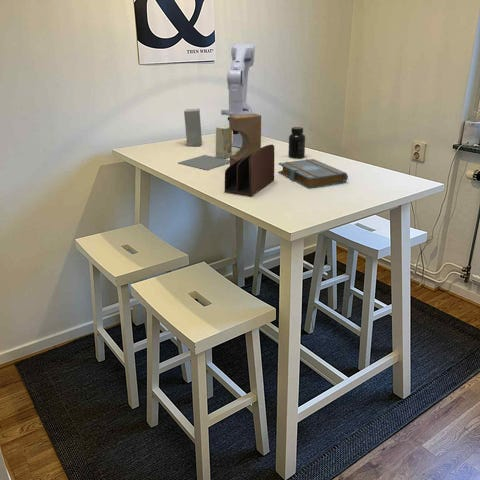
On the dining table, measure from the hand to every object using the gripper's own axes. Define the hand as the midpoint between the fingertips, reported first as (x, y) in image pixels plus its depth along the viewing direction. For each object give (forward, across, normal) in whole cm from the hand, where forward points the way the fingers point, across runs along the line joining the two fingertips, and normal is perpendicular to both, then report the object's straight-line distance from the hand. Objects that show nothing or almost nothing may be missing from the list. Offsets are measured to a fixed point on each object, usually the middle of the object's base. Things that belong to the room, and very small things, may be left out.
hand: (235, 133), depth 204 cm
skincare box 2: (+8, 0, -8) cm, 12 cm away
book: (+9, +44, -10) cm, 46 cm away
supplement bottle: (+9, +23, +12) cm, 27 cm away
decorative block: (+9, +17, -15) cm, 24 cm away
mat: (+8, 0, -19) cm, 21 cm away
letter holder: (+9, +33, -32) cm, 47 cm away
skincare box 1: (+9, -26, +1) cm, 27 cm away
